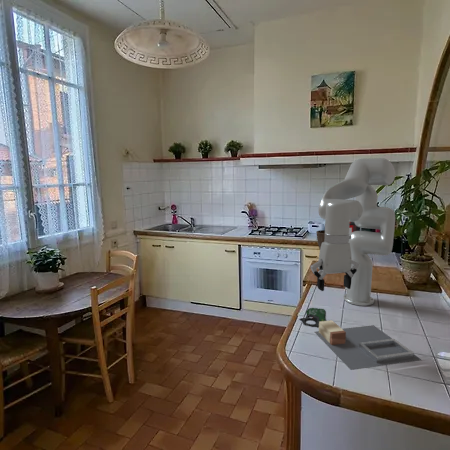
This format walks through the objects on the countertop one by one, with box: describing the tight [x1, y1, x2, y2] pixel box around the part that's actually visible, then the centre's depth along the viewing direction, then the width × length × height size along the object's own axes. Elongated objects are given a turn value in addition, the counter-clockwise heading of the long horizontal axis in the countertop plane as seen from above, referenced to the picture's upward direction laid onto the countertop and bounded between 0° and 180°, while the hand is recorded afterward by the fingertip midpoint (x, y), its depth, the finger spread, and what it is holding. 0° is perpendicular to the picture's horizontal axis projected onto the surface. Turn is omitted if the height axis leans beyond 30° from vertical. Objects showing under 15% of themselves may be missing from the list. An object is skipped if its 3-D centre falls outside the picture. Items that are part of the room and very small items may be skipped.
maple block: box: [318, 319, 346, 345], centre depth 111 cm, size 9×5×4 cm, turn 11°
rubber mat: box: [314, 324, 422, 371], centre depth 107 cm, size 23×24×1 cm
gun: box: [299, 307, 327, 328], centre depth 127 cm, size 16×1×10 cm
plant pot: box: [316, 229, 325, 250], centre depth 224 cm, size 15×15×16 cm
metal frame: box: [359, 338, 415, 363], centre depth 102 cm, size 9×13×2 cm
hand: (333, 288), depth 108 cm, fingers open, 9 cm apart
